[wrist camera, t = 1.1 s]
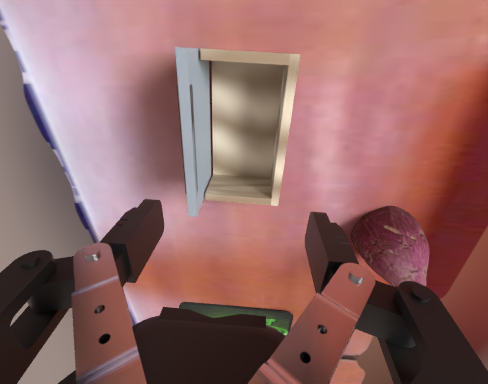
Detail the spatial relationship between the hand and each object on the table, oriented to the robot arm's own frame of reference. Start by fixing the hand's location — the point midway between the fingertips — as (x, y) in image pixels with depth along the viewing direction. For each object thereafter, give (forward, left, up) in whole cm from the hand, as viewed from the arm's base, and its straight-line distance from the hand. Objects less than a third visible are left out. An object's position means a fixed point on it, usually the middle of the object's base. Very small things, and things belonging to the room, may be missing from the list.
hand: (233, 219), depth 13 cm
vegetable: (+18, +24, -25) cm, 39 cm away
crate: (+1, -1, -24) cm, 24 cm away
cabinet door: (+1, -6, -23) cm, 24 cm away
